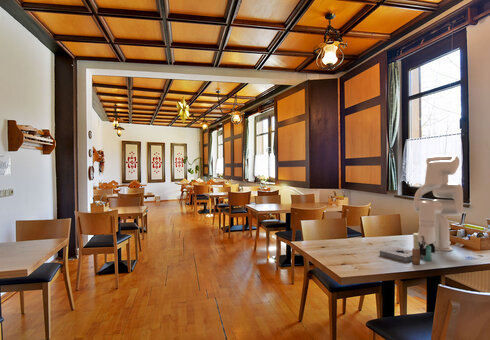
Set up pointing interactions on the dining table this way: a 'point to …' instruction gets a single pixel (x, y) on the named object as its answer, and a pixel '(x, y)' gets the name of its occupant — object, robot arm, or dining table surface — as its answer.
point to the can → (416, 241)
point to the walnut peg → (416, 256)
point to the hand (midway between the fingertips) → (427, 253)
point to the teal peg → (428, 253)
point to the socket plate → (398, 254)
